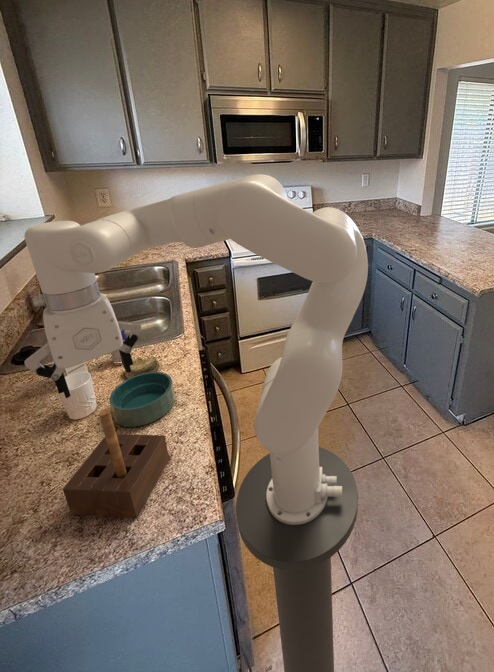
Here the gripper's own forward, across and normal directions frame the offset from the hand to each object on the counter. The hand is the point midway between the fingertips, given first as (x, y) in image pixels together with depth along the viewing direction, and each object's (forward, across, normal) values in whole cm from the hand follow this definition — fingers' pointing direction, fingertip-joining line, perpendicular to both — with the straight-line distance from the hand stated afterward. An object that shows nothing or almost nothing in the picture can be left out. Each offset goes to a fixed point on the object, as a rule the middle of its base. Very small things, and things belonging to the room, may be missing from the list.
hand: (98, 381), depth 65 cm
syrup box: (+29, -3, +55) cm, 62 cm away
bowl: (+29, +10, +26) cm, 40 cm away
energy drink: (+29, +11, +55) cm, 63 cm away
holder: (+29, -1, +4) cm, 29 cm away
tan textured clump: (+29, +14, +45) cm, 55 cm away
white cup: (+29, -4, +37) cm, 47 cm away
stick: (+29, -1, +1) cm, 29 cm away
